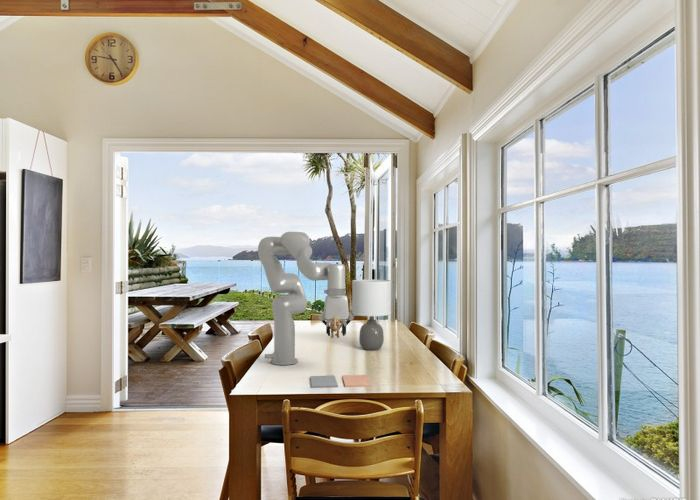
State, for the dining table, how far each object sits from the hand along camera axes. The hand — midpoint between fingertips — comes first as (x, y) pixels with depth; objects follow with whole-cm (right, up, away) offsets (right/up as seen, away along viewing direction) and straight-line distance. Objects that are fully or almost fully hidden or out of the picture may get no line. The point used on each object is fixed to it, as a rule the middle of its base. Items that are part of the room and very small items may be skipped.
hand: (336, 335), depth 211 cm
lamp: (+17, -17, +56) cm, 61 cm away
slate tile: (-5, -17, -13) cm, 22 cm away
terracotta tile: (+8, -17, -12) cm, 23 cm away
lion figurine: (+1, -1, +1) cm, 2 cm away
